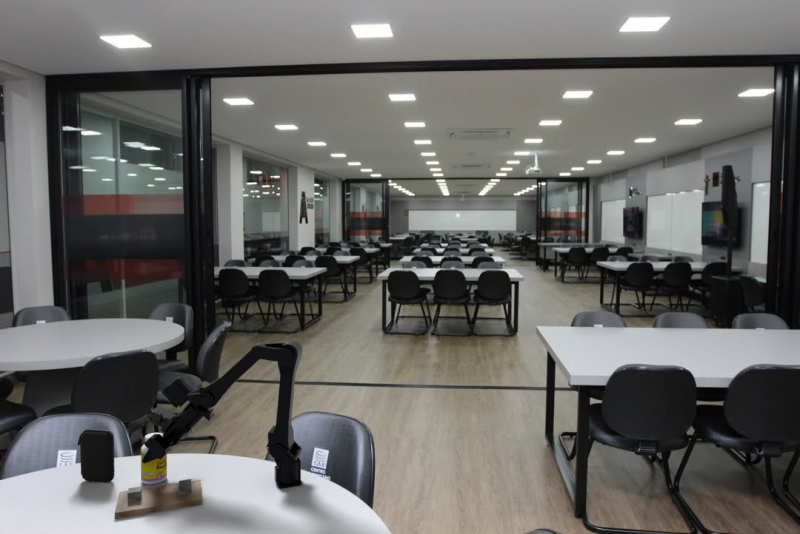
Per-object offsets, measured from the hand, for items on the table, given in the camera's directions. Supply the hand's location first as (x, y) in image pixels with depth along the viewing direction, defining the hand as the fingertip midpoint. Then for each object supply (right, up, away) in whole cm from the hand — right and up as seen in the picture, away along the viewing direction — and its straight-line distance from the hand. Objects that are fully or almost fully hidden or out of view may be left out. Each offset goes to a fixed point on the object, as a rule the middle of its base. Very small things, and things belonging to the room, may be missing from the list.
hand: (149, 457), depth 153 cm
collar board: (+8, -7, -12) cm, 16 cm away
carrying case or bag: (-14, -7, -1) cm, 16 cm away
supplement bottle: (+1, -7, 0) cm, 7 cm away
